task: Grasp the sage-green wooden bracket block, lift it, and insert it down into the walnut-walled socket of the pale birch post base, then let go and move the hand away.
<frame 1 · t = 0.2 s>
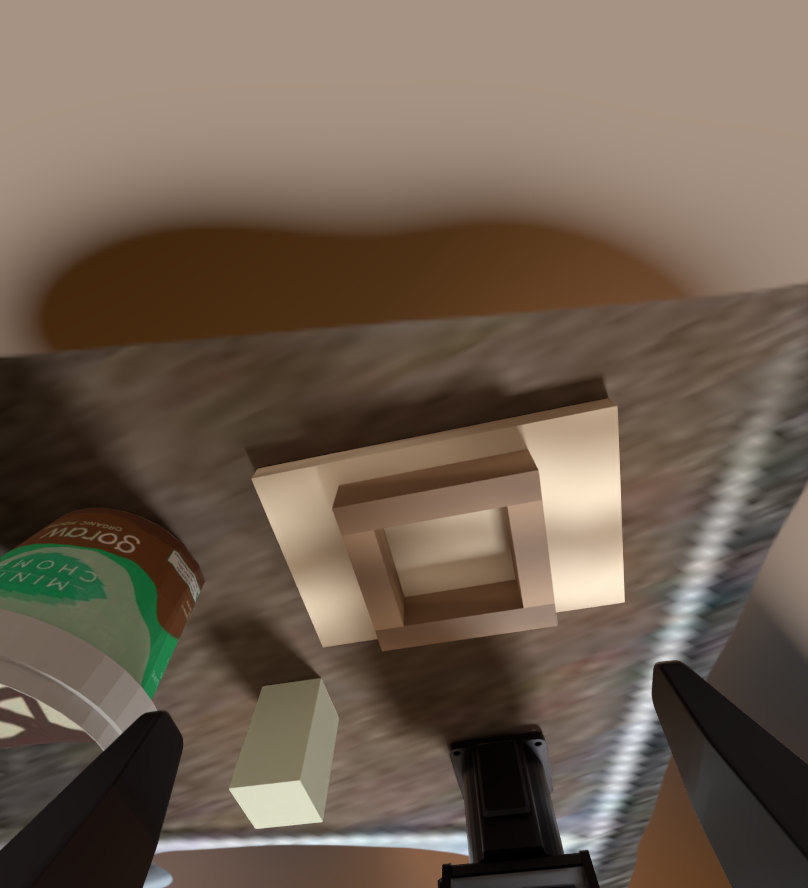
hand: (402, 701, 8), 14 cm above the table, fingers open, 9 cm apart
bracket: (301, 702, 30), on the table
food container: (110, 534, 25), on the table
post base: (447, 532, 24), on the table
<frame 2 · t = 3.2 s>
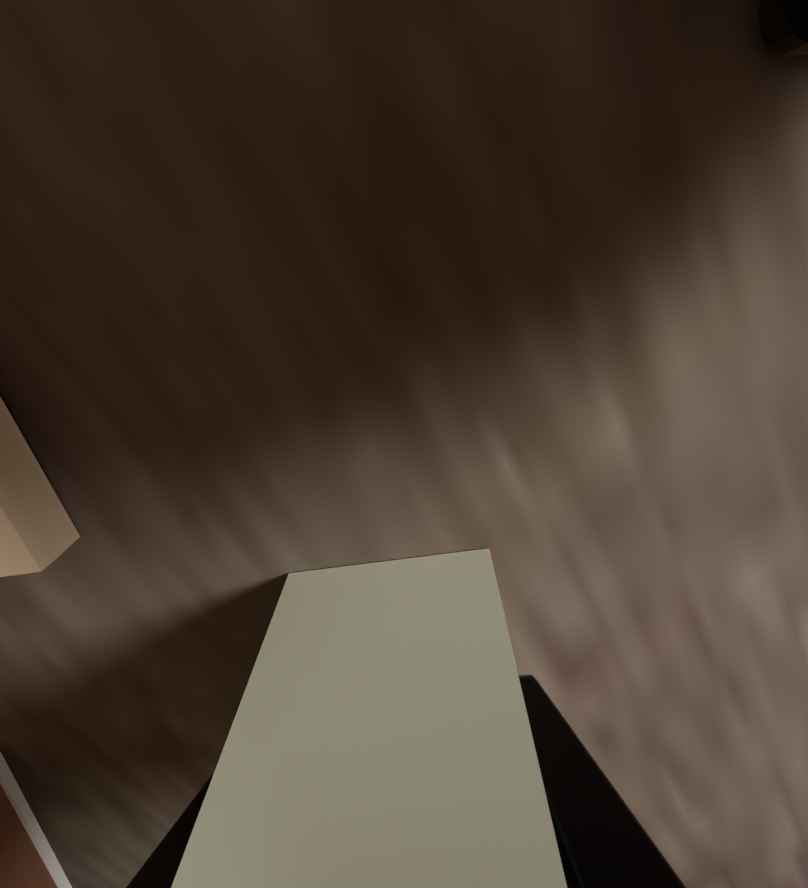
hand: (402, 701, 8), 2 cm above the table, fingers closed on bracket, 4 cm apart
bracket: (404, 634, 10), on the table, touching gripper
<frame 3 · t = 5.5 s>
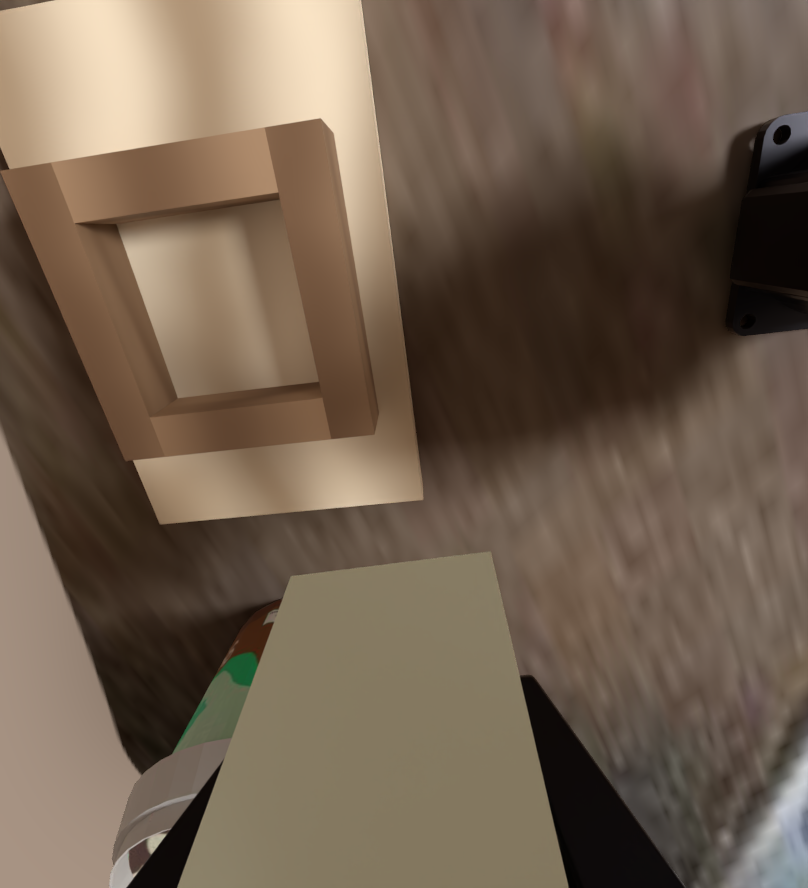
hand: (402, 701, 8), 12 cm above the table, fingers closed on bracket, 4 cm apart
bracket: (406, 637, 10), point 10 cm above the table, touching gripper
food container: (272, 652, 25), on the table
post base: (241, 302, 17), on the table
when the fingers open (4 cm above the table, at t = 7.7 s): bracket drops 1 cm, resting on post base.
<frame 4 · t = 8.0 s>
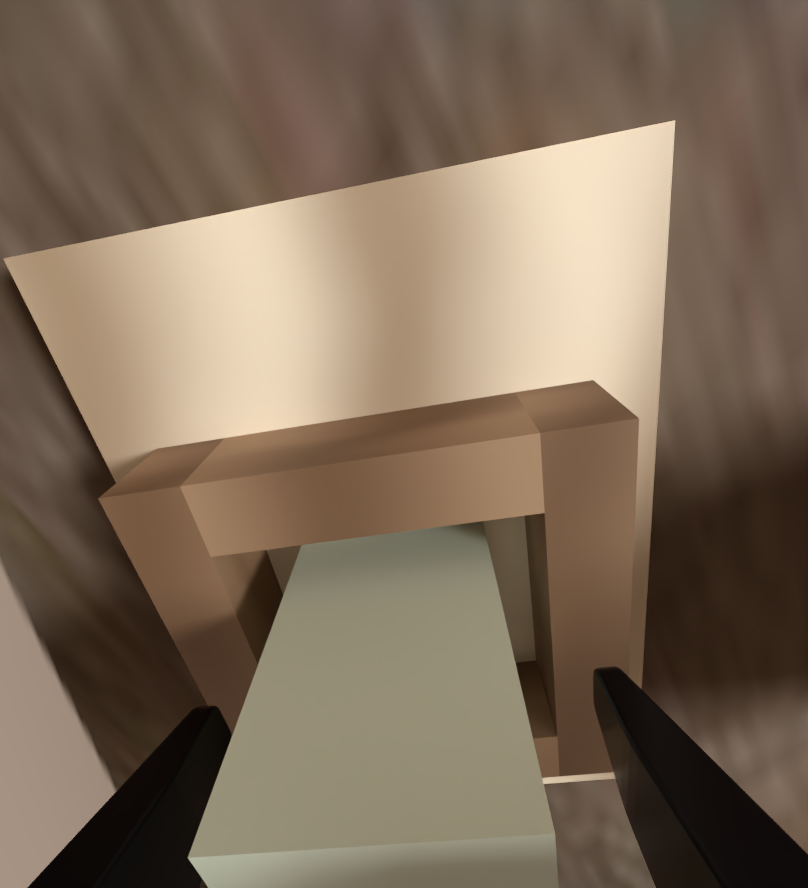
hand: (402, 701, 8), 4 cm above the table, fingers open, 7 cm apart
bracket: (406, 589, 11), point 1 cm above the table, touching post base
post base: (404, 559, 12), on the table
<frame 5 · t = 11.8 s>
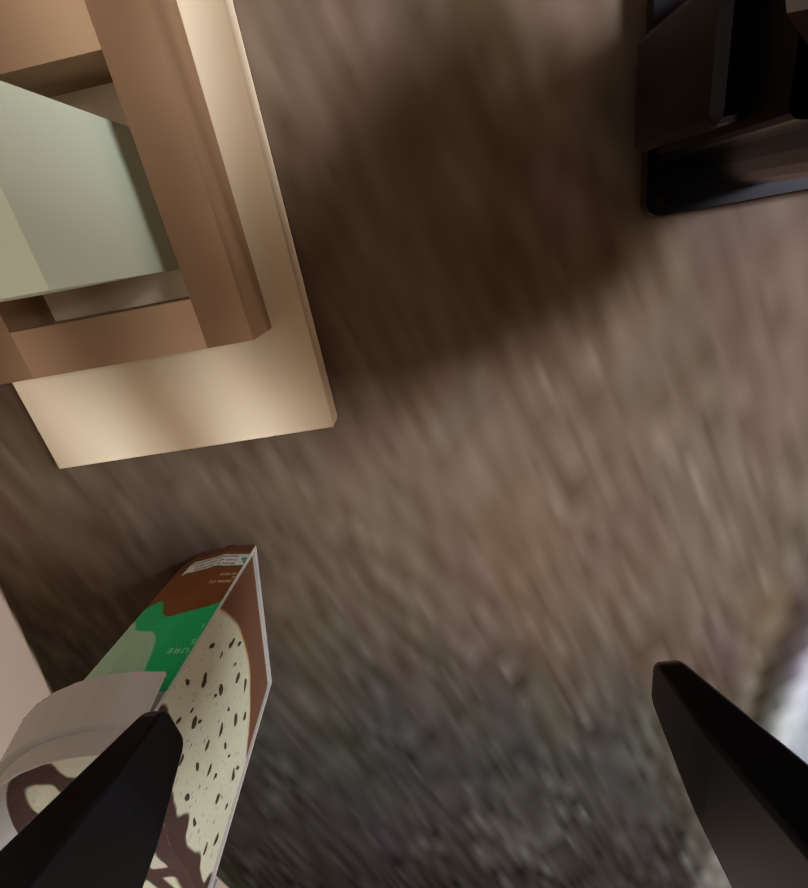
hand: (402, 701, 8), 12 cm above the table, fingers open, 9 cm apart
bracket: (98, 214, 15), point 1 cm above the table, touching post base
food container: (206, 612, 23), on the table
post base: (114, 212, 15), on the table
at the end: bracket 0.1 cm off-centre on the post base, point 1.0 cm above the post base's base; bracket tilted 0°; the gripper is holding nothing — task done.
